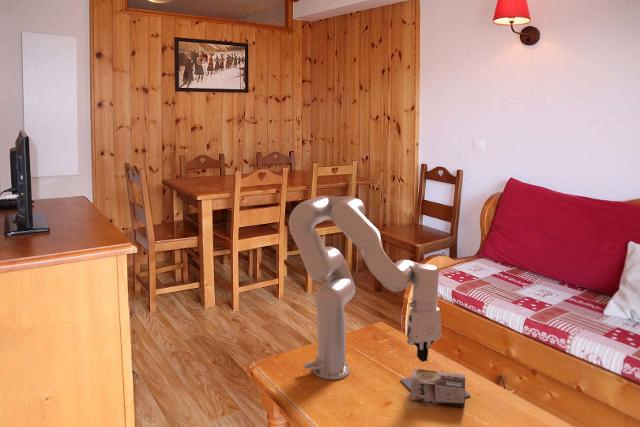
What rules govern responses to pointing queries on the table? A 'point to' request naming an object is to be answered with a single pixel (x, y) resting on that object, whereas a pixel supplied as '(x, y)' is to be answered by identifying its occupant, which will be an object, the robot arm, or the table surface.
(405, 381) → the mat
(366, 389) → the table surface
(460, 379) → the coffee box
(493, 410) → the table surface
